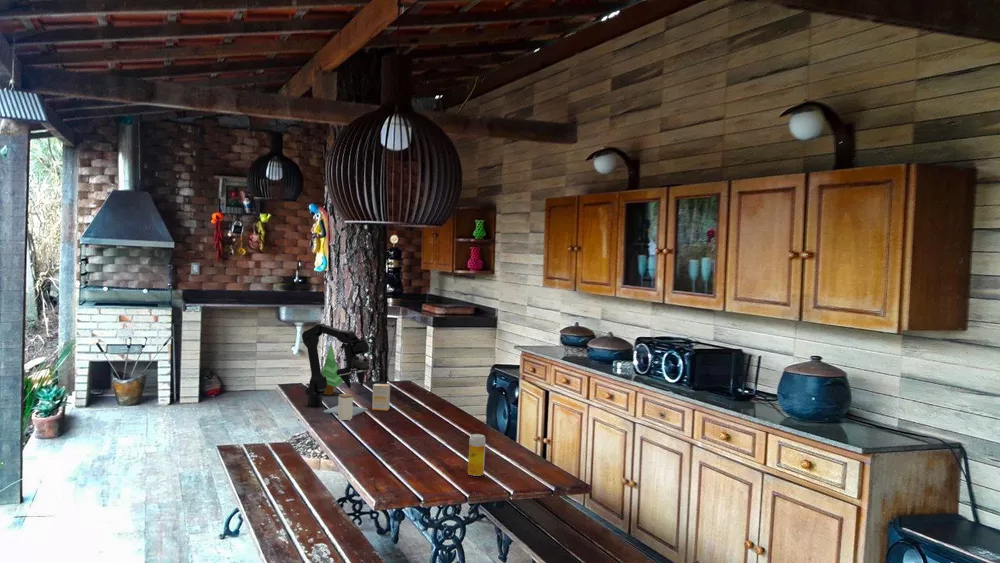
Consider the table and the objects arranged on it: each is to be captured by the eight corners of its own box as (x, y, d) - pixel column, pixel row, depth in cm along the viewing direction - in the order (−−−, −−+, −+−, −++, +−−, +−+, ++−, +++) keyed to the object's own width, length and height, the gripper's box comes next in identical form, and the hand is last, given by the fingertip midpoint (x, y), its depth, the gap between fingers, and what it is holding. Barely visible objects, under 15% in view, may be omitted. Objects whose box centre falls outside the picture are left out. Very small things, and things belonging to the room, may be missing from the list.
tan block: (337, 418, 351) (338, 394, 350) (347, 417, 354) (348, 393, 353) (342, 421, 347) (343, 396, 346) (351, 419, 350) (353, 395, 350)
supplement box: (389, 409, 378) (390, 384, 377) (387, 411, 373) (388, 385, 372) (374, 408, 378) (375, 383, 378) (371, 409, 374) (372, 384, 373)
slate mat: (323, 412, 362) (323, 410, 362) (339, 406, 377) (340, 404, 377) (352, 416, 357) (352, 414, 357) (367, 410, 372) (367, 408, 372)
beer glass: (467, 472, 277) (469, 433, 276) (483, 472, 277) (485, 434, 277) (467, 477, 271) (470, 437, 270) (484, 477, 271) (486, 438, 271)
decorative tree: (332, 390, 417) (334, 339, 415) (346, 395, 405) (348, 342, 404) (310, 393, 408) (313, 340, 406) (324, 398, 396) (327, 343, 395)
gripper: (350, 355, 352) (355, 387, 350) (375, 351, 368) (380, 382, 366) (333, 358, 357) (338, 390, 356) (358, 355, 373) (363, 385, 372)
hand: (355, 386), depth 362 cm, fingers open, 9 cm apart
